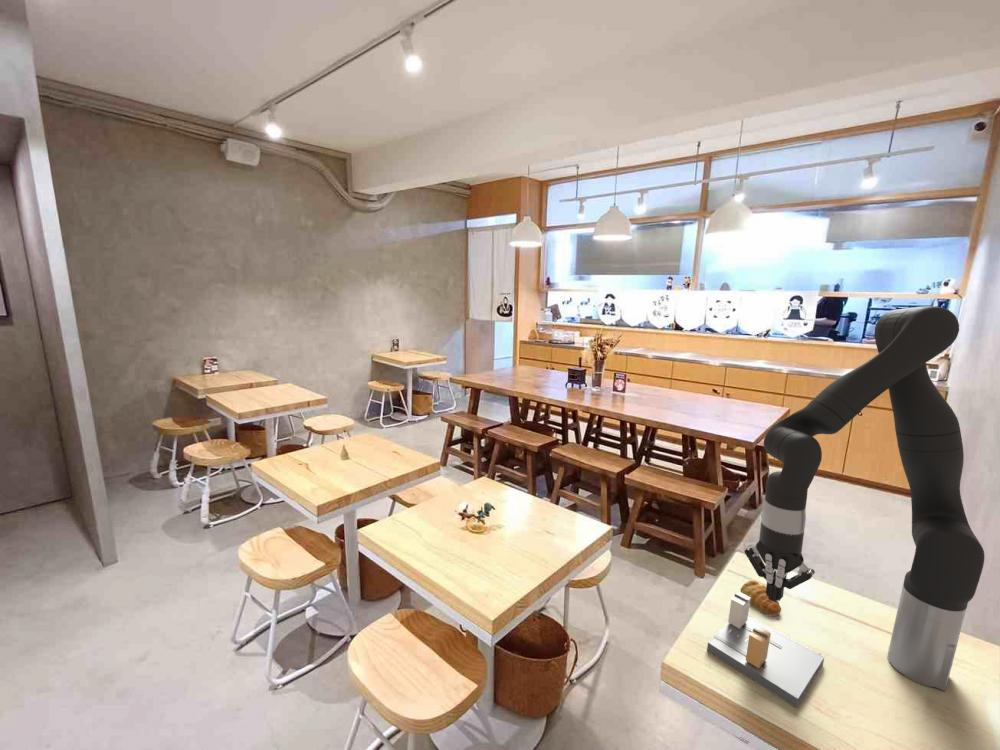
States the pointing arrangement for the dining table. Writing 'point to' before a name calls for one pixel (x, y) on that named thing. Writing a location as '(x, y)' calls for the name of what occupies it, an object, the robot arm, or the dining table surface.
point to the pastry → (760, 598)
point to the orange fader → (758, 646)
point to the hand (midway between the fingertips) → (773, 599)
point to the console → (769, 660)
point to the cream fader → (739, 609)
